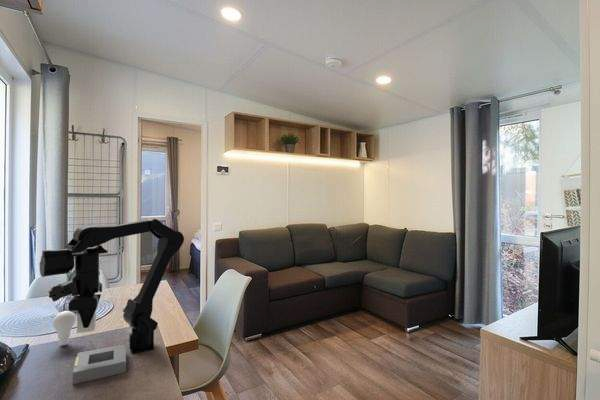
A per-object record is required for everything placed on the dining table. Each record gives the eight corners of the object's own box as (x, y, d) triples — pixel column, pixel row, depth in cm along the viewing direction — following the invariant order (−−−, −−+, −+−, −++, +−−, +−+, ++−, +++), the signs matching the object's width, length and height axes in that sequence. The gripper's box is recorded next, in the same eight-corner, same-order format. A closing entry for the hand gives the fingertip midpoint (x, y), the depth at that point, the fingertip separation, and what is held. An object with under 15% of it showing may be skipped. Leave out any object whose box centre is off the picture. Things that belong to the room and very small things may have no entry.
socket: (124, 353, 96) (125, 343, 96) (125, 372, 86) (126, 360, 86) (77, 363, 90) (77, 352, 90) (72, 384, 80) (72, 371, 80)
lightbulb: (62, 350, 98) (63, 315, 98) (46, 348, 99) (47, 313, 99) (80, 342, 104) (81, 309, 104) (65, 340, 105) (65, 307, 105)
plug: (95, 325, 91) (96, 301, 91) (94, 330, 88) (94, 305, 88) (78, 328, 89) (79, 303, 89) (76, 333, 86) (76, 308, 86)
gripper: (58, 266, 93) (58, 318, 93) (43, 281, 77) (43, 344, 77) (102, 263, 98) (102, 312, 98) (97, 276, 82) (96, 335, 82)
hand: (87, 324), depth 89 cm, fingers closed on plug, 4 cm apart
